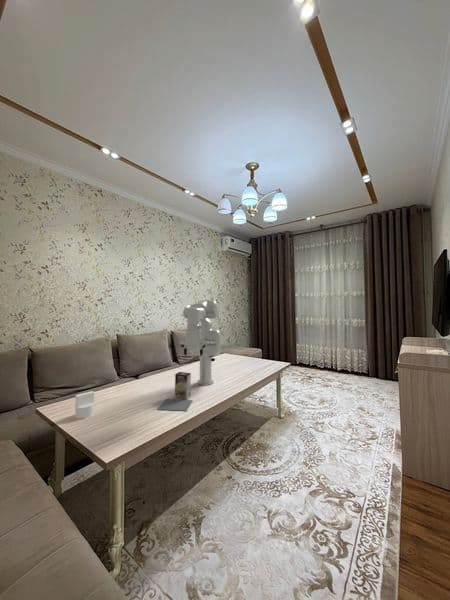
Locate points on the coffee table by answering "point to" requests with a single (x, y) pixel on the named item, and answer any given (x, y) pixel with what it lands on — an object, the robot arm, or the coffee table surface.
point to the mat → (175, 405)
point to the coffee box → (182, 385)
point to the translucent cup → (84, 405)
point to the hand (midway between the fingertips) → (193, 355)
